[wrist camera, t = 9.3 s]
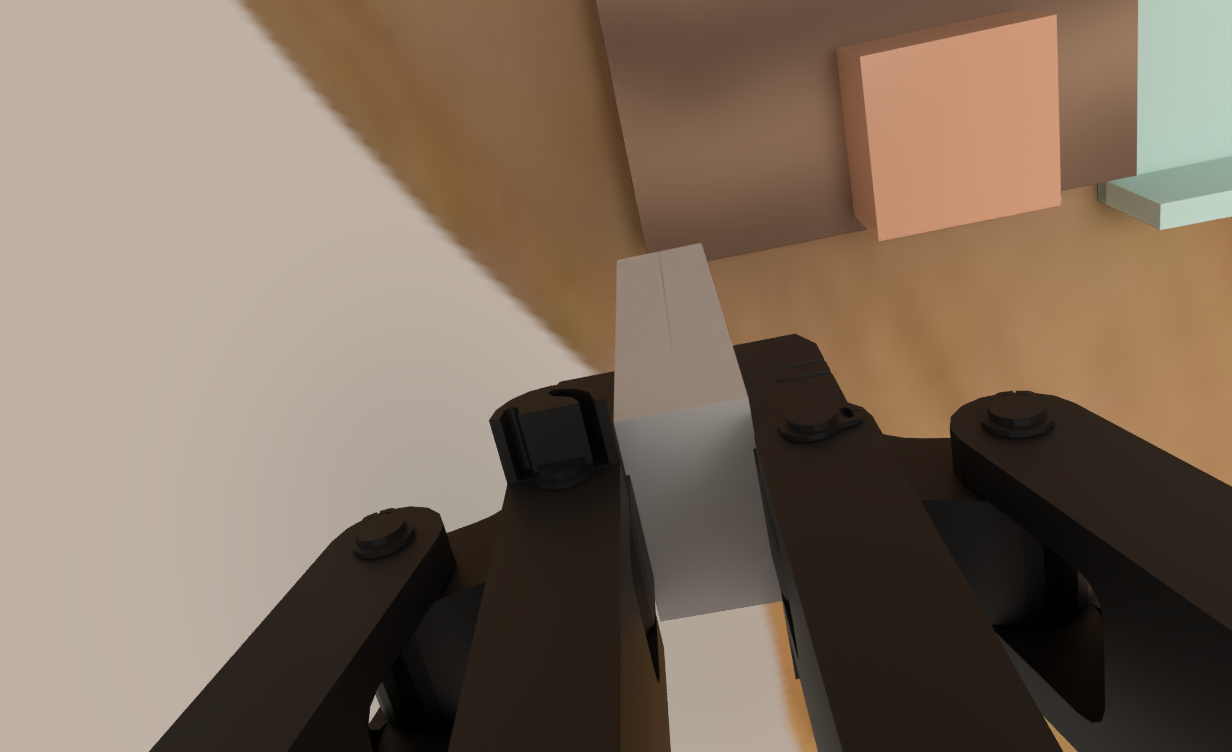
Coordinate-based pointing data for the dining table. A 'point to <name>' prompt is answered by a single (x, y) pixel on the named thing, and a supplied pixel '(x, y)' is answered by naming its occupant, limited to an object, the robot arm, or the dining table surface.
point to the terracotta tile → (952, 123)
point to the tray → (1180, 116)
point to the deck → (815, 107)
